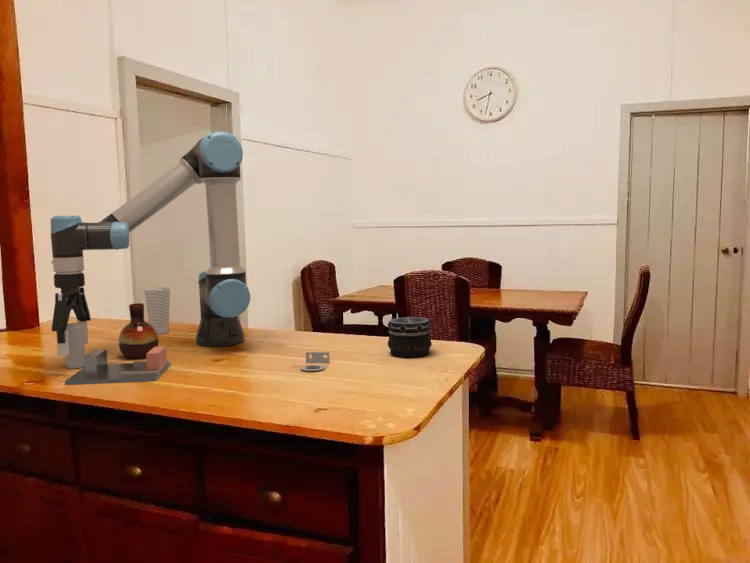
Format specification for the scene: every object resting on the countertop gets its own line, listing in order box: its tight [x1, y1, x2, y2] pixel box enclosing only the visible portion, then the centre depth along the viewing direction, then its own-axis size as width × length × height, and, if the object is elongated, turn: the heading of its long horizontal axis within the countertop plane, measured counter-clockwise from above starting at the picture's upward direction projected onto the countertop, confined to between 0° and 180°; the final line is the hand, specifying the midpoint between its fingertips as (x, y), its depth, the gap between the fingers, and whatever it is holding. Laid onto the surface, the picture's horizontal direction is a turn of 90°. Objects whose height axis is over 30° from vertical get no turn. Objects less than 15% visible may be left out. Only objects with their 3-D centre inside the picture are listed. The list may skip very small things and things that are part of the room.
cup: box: [143, 286, 171, 335], centre depth 220 cm, size 8×8×16 cm
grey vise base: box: [64, 349, 172, 386], centre depth 165 cm, size 22×16×6 cm
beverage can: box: [65, 322, 86, 370], centre depth 174 cm, size 5×5×12 cm
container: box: [386, 316, 432, 359], centre depth 182 cm, size 13×13×10 cm
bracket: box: [300, 351, 330, 372], centre depth 169 cm, size 7×10×4 cm, turn 174°
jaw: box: [145, 346, 167, 372], centre depth 166 cm, size 3×8×5 cm, turn 5°
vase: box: [117, 302, 160, 360], centre depth 185 cm, size 11×11×15 cm
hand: (73, 349), depth 174 cm, fingers open, 13 cm apart
